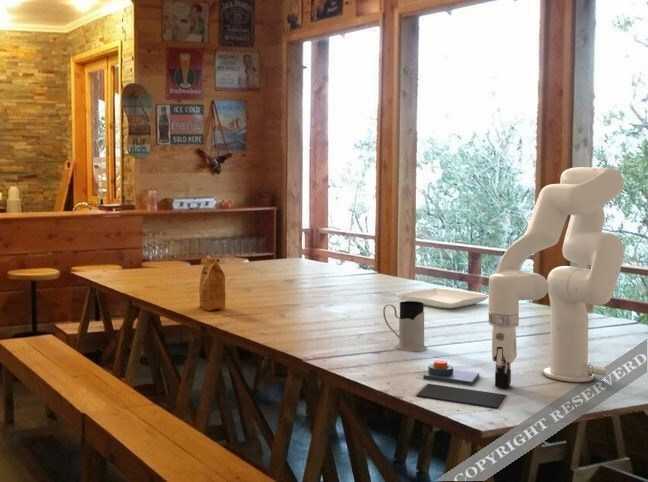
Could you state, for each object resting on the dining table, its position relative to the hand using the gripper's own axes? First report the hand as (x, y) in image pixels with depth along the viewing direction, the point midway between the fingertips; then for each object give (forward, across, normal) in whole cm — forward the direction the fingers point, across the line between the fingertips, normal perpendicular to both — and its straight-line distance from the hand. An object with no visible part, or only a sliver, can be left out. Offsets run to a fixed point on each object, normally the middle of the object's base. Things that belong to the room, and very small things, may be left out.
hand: (502, 384), depth 217 cm
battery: (+1, 0, 0) cm, 1 cm away
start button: (-2, +2, +17) cm, 17 cm away
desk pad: (+1, -14, +8) cm, 16 cm away
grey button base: (+1, +2, +14) cm, 14 cm away
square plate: (+1, +115, +43) cm, 123 cm away
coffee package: (+1, +59, +124) cm, 137 cm away
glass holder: (+1, +32, +36) cm, 48 cm away
